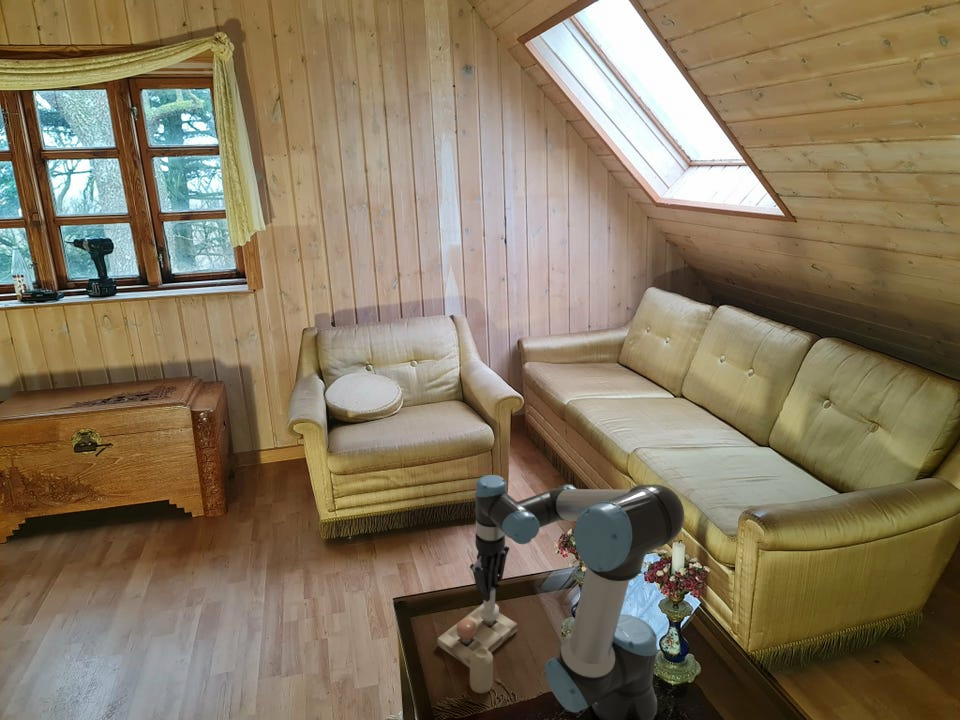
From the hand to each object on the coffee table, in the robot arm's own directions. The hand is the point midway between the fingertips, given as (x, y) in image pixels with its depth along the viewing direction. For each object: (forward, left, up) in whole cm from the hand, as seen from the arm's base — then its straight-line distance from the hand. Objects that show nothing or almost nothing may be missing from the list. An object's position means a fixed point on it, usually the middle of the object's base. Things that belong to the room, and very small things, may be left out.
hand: (489, 607), depth 189 cm
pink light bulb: (0, +9, -5) cm, 10 cm away
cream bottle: (-11, +16, -7) cm, 20 cm away
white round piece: (0, 0, -5) cm, 5 cm away
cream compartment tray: (0, +5, -7) cm, 8 cm away
